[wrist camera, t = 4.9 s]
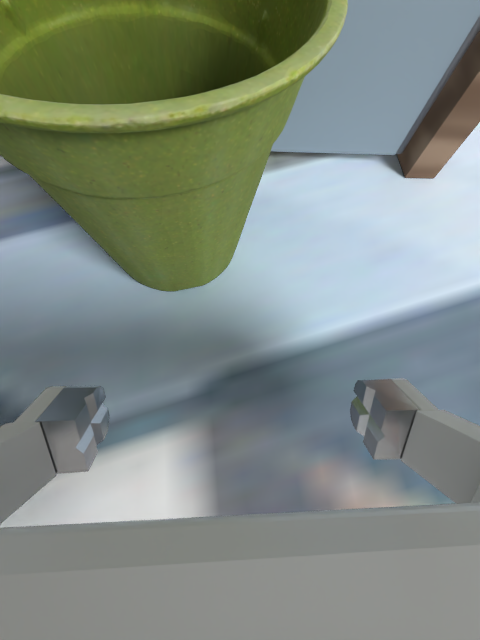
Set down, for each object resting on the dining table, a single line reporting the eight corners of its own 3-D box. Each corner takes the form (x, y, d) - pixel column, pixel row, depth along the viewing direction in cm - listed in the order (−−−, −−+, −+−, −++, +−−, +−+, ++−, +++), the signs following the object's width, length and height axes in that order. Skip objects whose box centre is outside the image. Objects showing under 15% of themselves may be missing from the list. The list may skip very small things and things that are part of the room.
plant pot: (46, 320, 15) (-349, 59, 5) (110, 163, 20) (-17, -145, 9) (268, 347, 15) (366, 148, 5) (279, 185, 20) (342, -97, 9)
